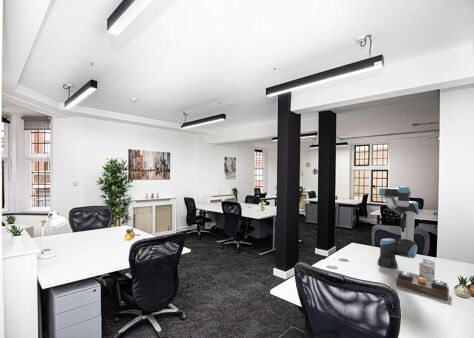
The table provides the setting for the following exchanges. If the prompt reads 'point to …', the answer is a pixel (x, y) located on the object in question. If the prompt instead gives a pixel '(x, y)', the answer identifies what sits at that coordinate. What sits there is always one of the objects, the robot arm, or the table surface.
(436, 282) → the knob
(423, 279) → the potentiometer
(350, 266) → the table surface
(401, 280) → the brown long low box
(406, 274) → the knob
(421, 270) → the ink box
